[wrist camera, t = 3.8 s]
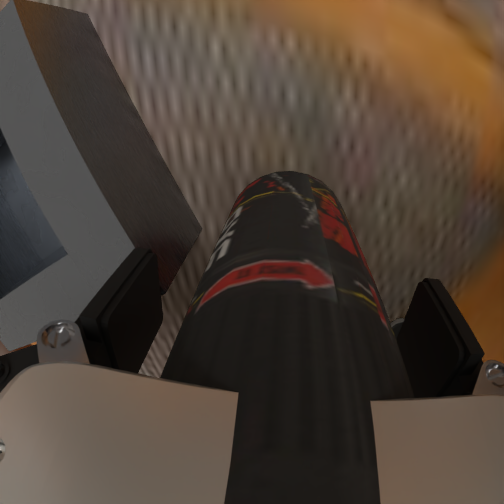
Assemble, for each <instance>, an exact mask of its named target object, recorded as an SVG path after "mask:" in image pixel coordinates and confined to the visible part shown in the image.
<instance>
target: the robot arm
mask: <svg viewBox="0 0 504 504" xmlns="http://www.w3.org/2000/svg"><path fill="white" fill-rule="evenodd" d="M162 320H163V311H162V302H161V293H160V283H159V272H158V260H157V255H156V254H154V253H153V252H152V250H151V249H146V248H137V247H136V248H134V249H133V251H132V252H131V253H130V254H129V255H128V256H127V257H126V259H125V260H124V261H123V262H122V263H121V264H120V266H119V267H118V268H117V269H116V270H115V272H114V273H113V274H112V275H111V276H110V278H109V279H108V280H107V281H106V282H105V284H104V285H103V286H102V287H101V289H100V290H99V291H98V292H97V294H96V295H95V296H94V297H93V298H92V300H91V301H90V302H89V304H88V305H87V306H86V307H85V309H84V310H83V311H82V312H81V314H80V315H79V317H78V318H77V320H76V321H75V322H73V321H70V320H63V319H61V320H55V321H52V322H50V323H48V324H46V325H45V326H43V327H42V329H41V330H40V331H39V333H38V335H37V344H36V345H33V346H30V347H27V348H24V349H21V350H18V351H15V352H12V353H9V354H6V355H2V356H0V504H224V501H225V494H226V488H227V481H228V475H229V468H230V462H231V453H232V444H233V436H234V427H235V419H236V410H237V401H238V393H237V392H232V391H227V390H222V389H216V388H211V387H205V386H200V385H195V384H190V383H184V382H178V381H173V380H168V379H162V378H157V377H152V376H147V375H142V374H138V372H139V370H140V368H141V365H142V363H143V361H144V359H145V357H146V355H147V353H148V351H149V349H150V346H151V344H152V342H153V340H154V338H155V336H156V334H157V332H158V330H159V328H160V326H161V323H162ZM396 341H397V344H398V347H399V350H400V353H401V356H402V359H403V362H404V365H405V368H406V371H407V374H408V378H409V381H410V384H411V387H412V391H413V394H414V397H415V398H405V399H392V400H377V401H370V402H371V410H372V417H373V426H374V435H375V445H376V456H377V468H378V478H379V489H380V502H381V504H504V364H503V363H501V362H499V361H496V360H488V361H486V362H484V363H483V361H482V357H483V356H484V354H485V353H484V352H483V350H482V348H481V346H480V344H479V343H478V341H477V339H476V337H475V336H474V334H473V332H472V330H471V329H470V327H469V325H468V324H467V322H466V320H465V319H464V317H463V315H462V314H461V312H460V311H459V309H458V307H457V306H456V304H455V303H454V301H453V299H452V298H451V296H450V295H449V293H448V292H447V290H446V289H445V287H444V286H443V284H442V283H441V281H440V280H438V279H429V278H425V279H424V280H423V281H422V282H419V283H418V285H417V288H416V291H415V293H414V296H413V299H412V301H411V304H410V306H409V309H408V311H407V314H406V316H405V319H404V321H403V324H402V326H401V329H400V331H399V333H398V336H397V338H396Z"/></svg>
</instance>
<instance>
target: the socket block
mask: <svg viewBox="0 0 504 504" xmlns="http://www.w3.org/2000/svg"><path fill="white" fill-rule="evenodd" d="M201 230H202V228H201V226H200V225H199V223H198V221H197V219H196V218H195V216H194V214H193V212H192V210H191V209H190V207H189V205H188V203H187V202H186V200H185V198H184V196H183V195H182V193H181V191H180V189H179V187H178V186H177V184H176V182H175V180H174V178H173V177H172V175H171V173H170V171H169V169H168V168H167V166H166V164H165V162H164V160H163V158H162V157H161V155H160V153H159V151H158V149H157V148H156V146H155V144H154V142H153V140H152V138H151V136H150V135H149V133H148V131H147V129H146V127H145V125H144V123H143V122H142V120H141V118H140V116H139V114H138V112H137V110H136V108H135V107H134V105H133V103H132V101H131V99H130V97H129V95H128V93H127V91H126V89H125V87H124V86H123V84H122V82H121V80H120V78H119V76H118V74H117V72H116V70H115V68H114V66H113V64H112V62H111V60H110V58H109V56H108V54H107V52H106V50H105V48H104V47H103V45H102V43H101V41H100V39H99V37H98V35H97V33H96V30H95V28H94V26H93V24H92V22H91V20H90V18H89V16H88V14H86V13H82V12H78V11H74V10H70V9H66V8H62V7H57V6H53V5H48V4H43V3H38V2H33V1H27V0H10V2H9V3H8V4H7V5H6V6H5V7H4V8H3V10H2V11H1V12H0V340H1V342H2V343H3V344H4V345H5V347H6V348H7V349H8V350H9V351H11V350H14V349H17V348H19V347H22V346H25V345H28V344H30V343H33V342H36V341H37V335H38V333H39V331H40V330H41V329H42V327H43V326H45V325H46V324H48V323H50V322H52V321H55V320H61V319H63V320H70V321H73V322H75V321H76V320H77V318H78V317H79V315H80V314H81V312H82V311H83V310H84V309H85V307H86V306H87V305H88V304H89V302H90V301H91V300H92V298H93V297H94V296H95V295H96V294H97V292H98V291H99V290H100V289H101V287H102V286H103V285H104V284H105V282H106V281H107V280H108V279H109V278H110V276H111V275H112V274H113V273H114V272H115V270H116V269H117V268H118V267H119V266H120V264H121V263H122V262H123V261H124V260H125V259H126V257H127V256H128V255H129V254H130V253H131V252H132V251H133V249H134V248H136V247H137V248H146V249H151V250H152V252H153V253H154V254H156V255H157V260H158V272H159V283H160V293H161V295H163V294H165V293H166V291H167V290H168V288H169V286H170V284H171V282H172V281H173V279H174V277H175V275H176V274H177V272H178V270H179V268H180V266H181V265H182V263H183V261H184V259H185V258H186V256H187V254H188V252H189V251H190V249H191V247H192V245H193V244H194V242H195V240H196V239H197V237H198V235H199V233H200V232H201Z"/></svg>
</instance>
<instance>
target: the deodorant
mask: <svg viewBox="0 0 504 504" xmlns="http://www.w3.org/2000/svg"><path fill="white" fill-rule="evenodd" d="M160 378H162V379H168V380H173V381H178V382H184V383H190V384H195V385H200V386H205V387H211V388H216V389H222V390H227V391H232V392H237V393H238V401H237V410H236V419H235V427H234V436H233V444H232V453H231V462H230V468H229V475H228V481H227V488H226V494H225V501H224V504H381V502H380V489H379V478H378V468H377V456H376V445H375V435H374V426H373V417H372V410H371V402H370V401H377V400H392V399H405V398H415V397H414V394H413V391H412V387H411V384H410V381H409V378H408V374H407V371H406V368H405V365H404V362H403V359H402V356H401V353H400V350H399V347H398V344H397V341H396V338H395V335H394V333H393V330H392V327H391V324H390V321H389V319H388V316H387V313H386V311H385V308H384V305H383V303H382V300H381V297H380V295H379V292H378V290H377V287H376V285H375V282H374V280H373V277H372V275H371V272H370V270H369V267H368V265H367V263H366V260H365V258H364V255H363V253H362V251H361V248H360V246H359V244H358V241H357V239H356V237H355V235H354V232H353V230H352V228H351V226H350V223H349V221H348V219H347V217H346V215H345V213H344V210H343V208H342V206H341V204H340V202H339V201H338V199H337V198H336V196H335V194H334V193H333V191H331V190H330V189H329V188H328V187H327V186H326V185H325V184H324V183H323V182H322V181H320V180H318V179H316V178H314V177H312V176H310V175H308V174H303V173H298V172H294V171H285V172H274V173H271V174H268V175H265V176H262V177H260V178H258V179H257V180H255V181H254V182H252V183H251V184H249V185H248V186H247V187H246V188H245V189H244V190H243V192H242V193H241V194H240V195H239V196H238V198H237V200H236V202H235V204H234V206H233V209H232V211H231V213H230V215H229V217H228V220H227V222H226V224H225V226H224V228H223V231H222V233H221V235H220V237H219V240H218V242H217V244H216V246H215V249H214V251H213V253H212V256H211V258H210V260H209V262H208V265H207V267H206V269H205V272H204V274H203V276H202V279H201V281H200V283H199V285H198V288H197V290H196V292H195V295H194V297H193V300H192V302H191V304H190V307H189V309H188V311H187V314H186V316H185V319H184V321H183V323H182V326H181V328H180V331H179V333H178V335H177V338H176V340H175V343H174V345H173V348H172V350H171V352H170V355H169V357H168V360H167V362H166V365H165V367H164V370H163V372H162V375H161V377H160Z"/></svg>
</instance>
